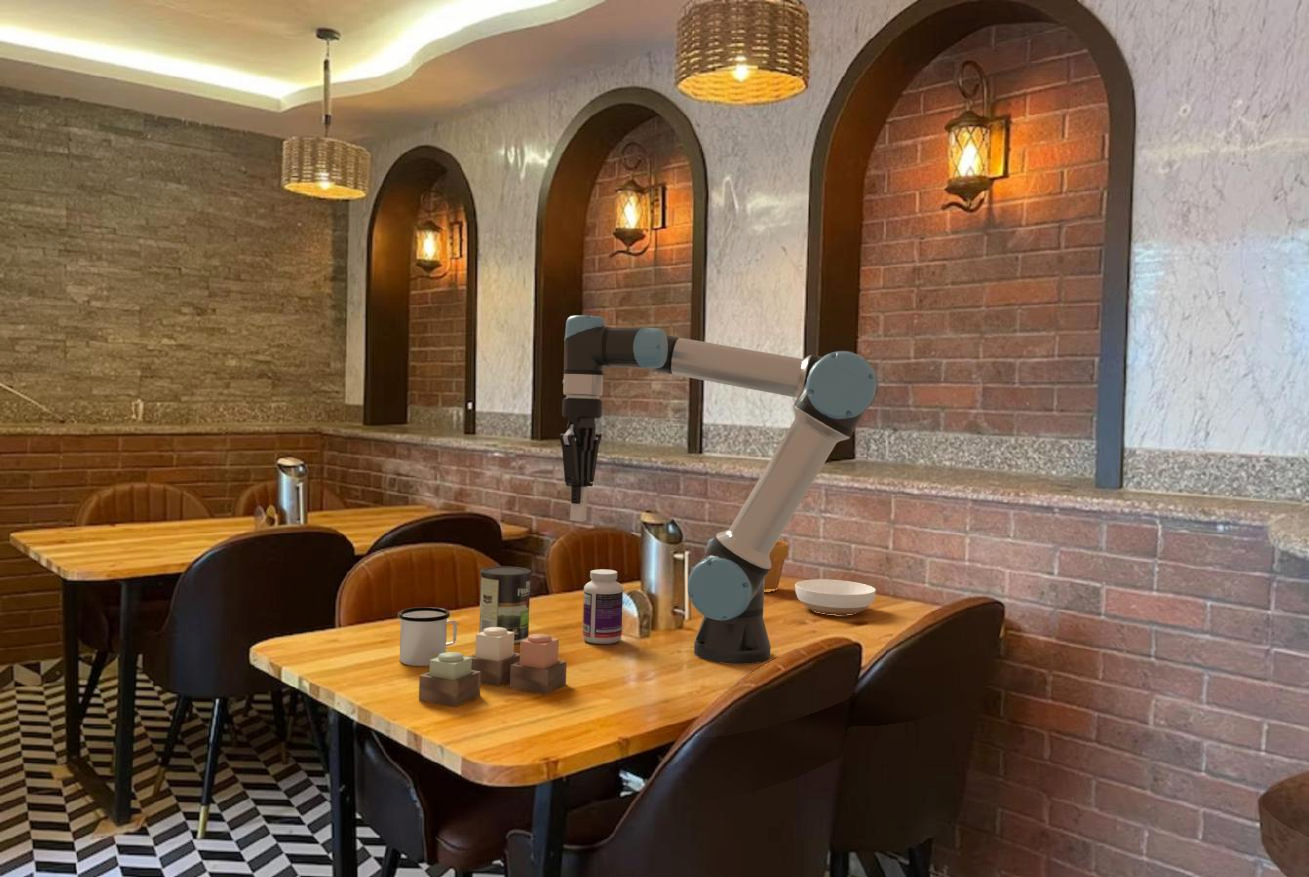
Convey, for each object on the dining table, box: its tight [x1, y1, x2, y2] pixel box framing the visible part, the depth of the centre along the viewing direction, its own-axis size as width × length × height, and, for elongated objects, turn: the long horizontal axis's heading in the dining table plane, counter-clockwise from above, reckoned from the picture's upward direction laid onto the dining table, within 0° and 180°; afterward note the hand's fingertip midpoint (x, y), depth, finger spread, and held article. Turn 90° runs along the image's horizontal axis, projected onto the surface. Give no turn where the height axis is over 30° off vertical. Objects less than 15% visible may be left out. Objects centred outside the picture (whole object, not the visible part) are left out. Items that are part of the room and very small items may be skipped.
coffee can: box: [478, 565, 532, 645], centre depth 199 cm, size 10×10×14 cm
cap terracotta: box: [519, 633, 560, 669], centre depth 167 cm, size 5×5×7 cm
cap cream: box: [474, 627, 515, 662], centre depth 170 cm, size 5×5×7 cm
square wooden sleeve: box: [468, 652, 520, 687], centre depth 170 cm, size 7×7×4 cm
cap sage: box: [428, 651, 472, 680], centre depth 158 cm, size 5×5×7 cm
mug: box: [397, 606, 458, 667], centre depth 181 cm, size 12×10×9 cm
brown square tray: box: [418, 670, 481, 708], centre depth 158 cm, size 7×7×4 cm
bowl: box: [794, 578, 877, 615], centre depth 238 cm, size 20×20×6 cm
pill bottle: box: [582, 568, 624, 645], centre depth 200 cm, size 8×8×14 cm
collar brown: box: [509, 659, 567, 696], centre depth 167 cm, size 7×7×4 cm
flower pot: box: [764, 539, 790, 590], centre depth 262 cm, size 14×14×13 cm
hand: (578, 520), depth 186 cm, fingers closed
